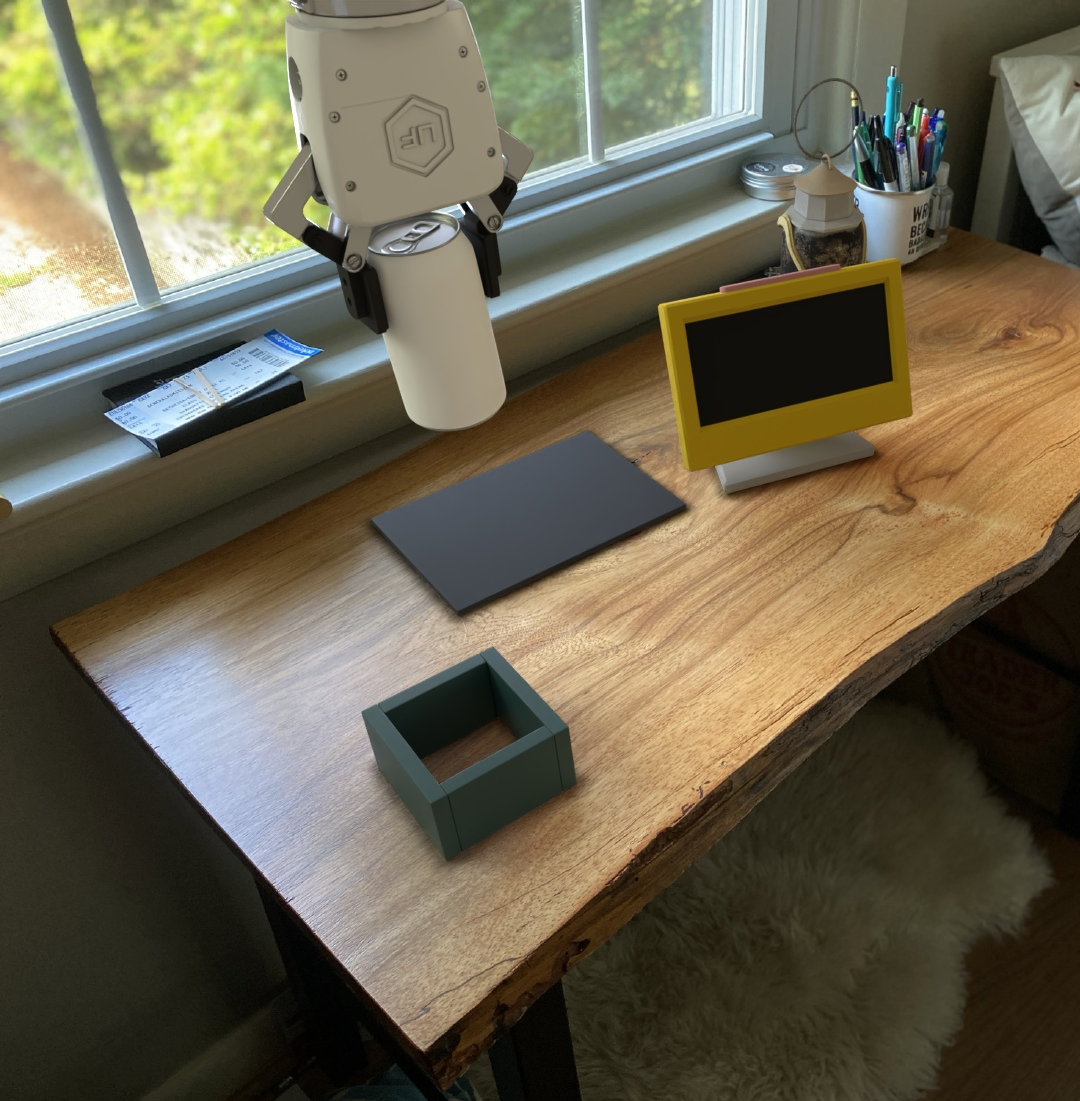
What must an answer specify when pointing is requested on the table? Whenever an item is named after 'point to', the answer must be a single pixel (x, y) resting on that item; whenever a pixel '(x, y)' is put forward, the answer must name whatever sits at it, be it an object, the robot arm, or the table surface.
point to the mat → (524, 520)
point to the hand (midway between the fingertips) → (429, 305)
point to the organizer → (491, 784)
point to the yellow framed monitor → (787, 370)
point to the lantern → (823, 214)
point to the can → (437, 322)
